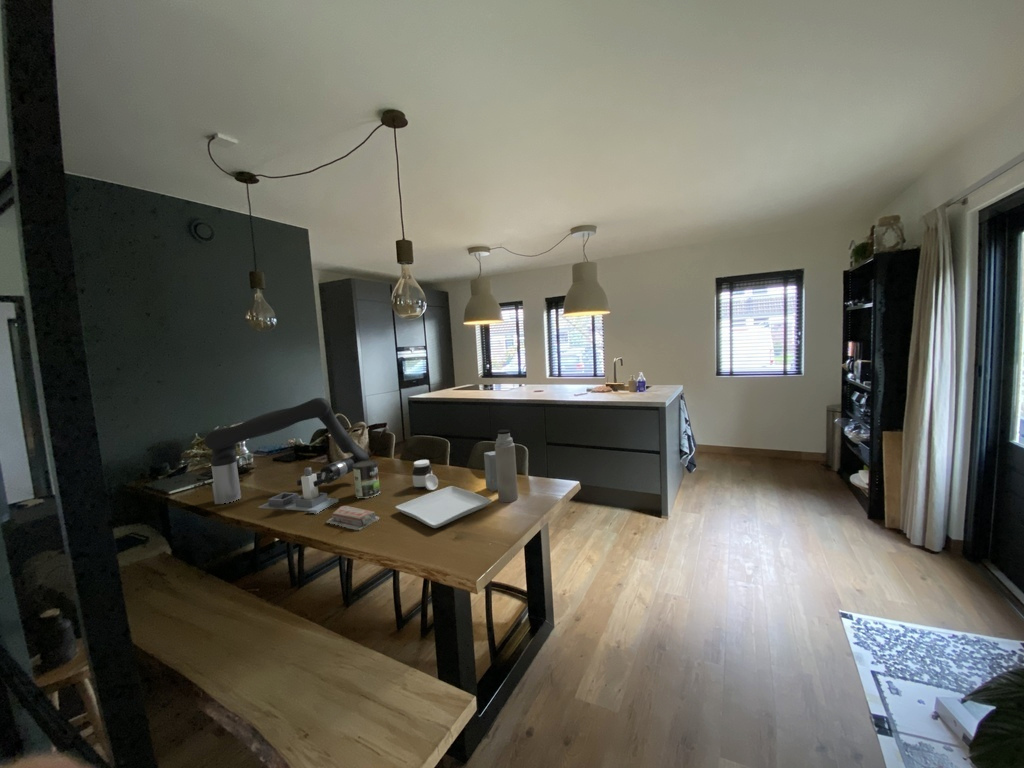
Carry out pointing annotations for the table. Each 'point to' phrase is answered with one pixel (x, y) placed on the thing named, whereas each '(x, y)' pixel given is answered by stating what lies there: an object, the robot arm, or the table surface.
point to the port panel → (312, 503)
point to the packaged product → (352, 517)
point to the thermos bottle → (506, 467)
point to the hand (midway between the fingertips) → (306, 483)
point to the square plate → (443, 506)
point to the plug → (309, 484)
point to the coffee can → (366, 479)
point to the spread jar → (424, 476)
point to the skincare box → (490, 471)
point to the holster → (281, 501)
